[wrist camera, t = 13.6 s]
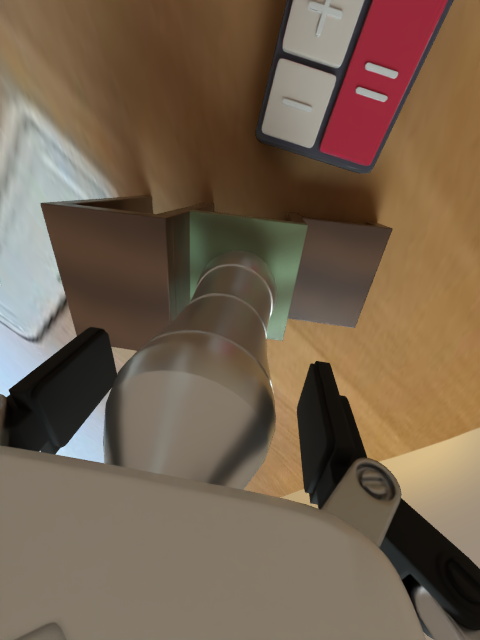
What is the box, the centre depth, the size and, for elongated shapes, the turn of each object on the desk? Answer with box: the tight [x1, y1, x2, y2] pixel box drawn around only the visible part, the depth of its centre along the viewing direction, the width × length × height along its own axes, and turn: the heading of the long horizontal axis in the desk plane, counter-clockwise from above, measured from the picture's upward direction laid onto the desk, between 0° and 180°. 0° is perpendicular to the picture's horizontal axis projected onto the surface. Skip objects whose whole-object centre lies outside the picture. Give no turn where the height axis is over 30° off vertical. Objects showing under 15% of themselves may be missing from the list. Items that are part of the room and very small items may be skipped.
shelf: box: [41, 196, 392, 351], centre depth 24 cm, size 11×26×14 cm, turn 85°
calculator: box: [256, 0, 453, 173], centre depth 19 cm, size 11×4×15 cm
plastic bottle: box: [103, 250, 277, 490], centre depth 13 cm, size 6×7×20 cm
